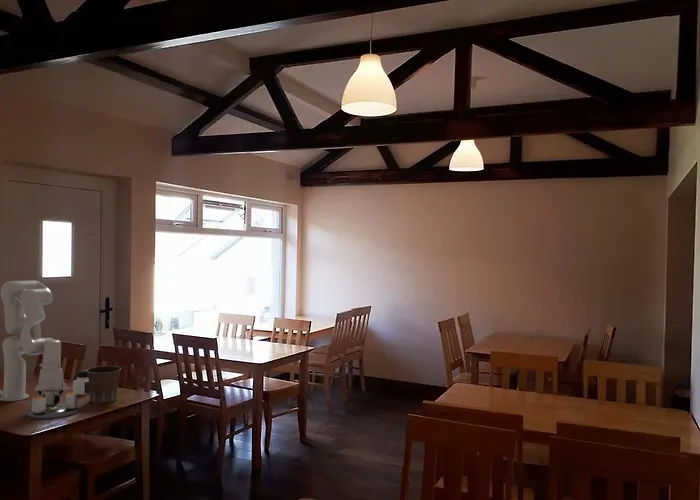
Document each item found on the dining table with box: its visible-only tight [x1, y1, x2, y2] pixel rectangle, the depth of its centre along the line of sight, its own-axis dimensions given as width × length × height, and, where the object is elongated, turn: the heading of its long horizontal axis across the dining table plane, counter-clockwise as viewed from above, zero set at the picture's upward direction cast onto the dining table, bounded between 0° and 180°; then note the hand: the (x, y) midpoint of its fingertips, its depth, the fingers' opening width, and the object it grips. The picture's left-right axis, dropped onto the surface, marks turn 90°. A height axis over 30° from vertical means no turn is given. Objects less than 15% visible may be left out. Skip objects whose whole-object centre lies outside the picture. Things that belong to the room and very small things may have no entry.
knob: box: [31, 395, 46, 415], centre depth 259 cm, size 5×5×8 cm
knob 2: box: [45, 390, 57, 407], centre depth 272 cm, size 5×5×8 cm
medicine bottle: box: [72, 369, 90, 396], centre depth 303 cm, size 7×7×12 cm
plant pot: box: [85, 365, 122, 405], centre depth 289 cm, size 16×16×16 cm
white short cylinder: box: [64, 392, 78, 410], centre depth 267 cm, size 5×5×8 cm
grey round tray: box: [27, 403, 80, 421], centre depth 266 cm, size 21×21×2 cm
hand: (50, 403), depth 272 cm, fingers closed on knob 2, 4 cm apart
